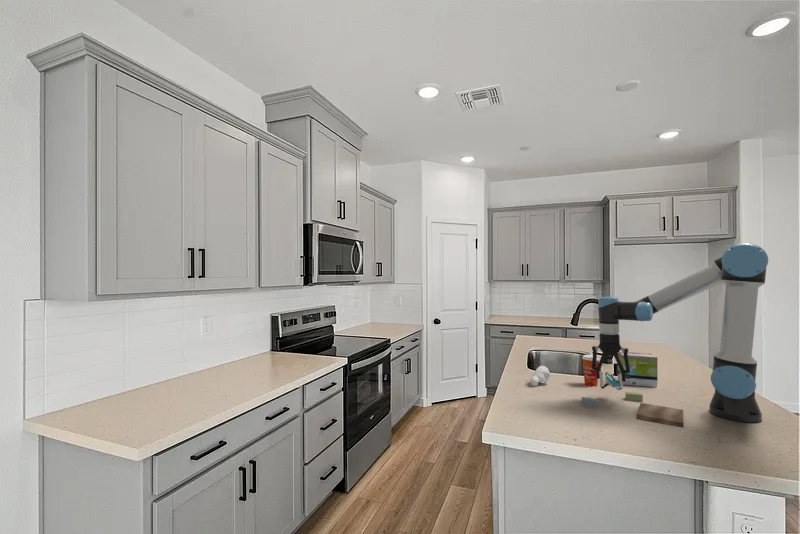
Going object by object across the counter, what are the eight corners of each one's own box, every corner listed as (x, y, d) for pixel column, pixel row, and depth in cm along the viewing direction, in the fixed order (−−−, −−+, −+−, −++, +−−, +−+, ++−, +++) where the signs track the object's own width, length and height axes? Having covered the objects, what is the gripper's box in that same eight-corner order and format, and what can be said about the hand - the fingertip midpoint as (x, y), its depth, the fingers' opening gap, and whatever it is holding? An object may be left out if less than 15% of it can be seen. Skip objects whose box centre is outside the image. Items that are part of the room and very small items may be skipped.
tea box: (622, 385, 188) (622, 354, 188) (617, 380, 198) (617, 350, 198) (658, 388, 184) (657, 356, 184) (651, 382, 193) (650, 352, 194)
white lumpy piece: (550, 366, 191) (536, 372, 184) (552, 383, 191) (537, 390, 184) (539, 363, 196) (525, 369, 189) (540, 380, 196) (526, 387, 189)
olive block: (641, 400, 167) (641, 393, 167) (642, 402, 164) (642, 395, 164) (625, 398, 169) (625, 391, 169) (626, 400, 166) (626, 393, 166)
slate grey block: (598, 406, 159) (598, 399, 159) (597, 408, 156) (597, 401, 157) (582, 404, 162) (582, 397, 162) (581, 406, 159) (581, 399, 159)
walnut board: (683, 413, 150) (683, 409, 150) (683, 427, 137) (683, 422, 137) (640, 406, 158) (640, 402, 158) (637, 418, 145) (637, 414, 145)
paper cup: (578, 383, 191) (578, 355, 191) (589, 381, 194) (589, 353, 194) (592, 388, 184) (592, 358, 184) (603, 386, 187) (603, 356, 187)
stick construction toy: (625, 387, 158) (611, 370, 161) (610, 396, 159) (597, 379, 162) (617, 387, 169) (605, 372, 172) (604, 396, 170) (591, 380, 173)
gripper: (637, 333, 162) (639, 389, 162) (585, 330, 174) (587, 382, 173) (635, 336, 156) (637, 393, 156) (582, 332, 168) (584, 386, 167)
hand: (611, 387), depth 164 cm, fingers closed on stick construction toy, 7 cm apart
